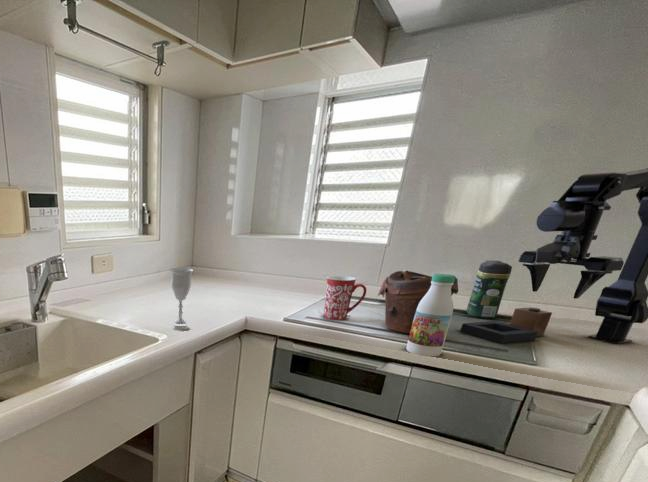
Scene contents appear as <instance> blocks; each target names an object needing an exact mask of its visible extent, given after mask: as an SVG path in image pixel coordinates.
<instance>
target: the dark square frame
mask: <svg viewBox="0 0 648 482" xmlns="http://www.w3.org/2000/svg"><path fill="white" fill-rule="evenodd" d="M459 331H460V332H461V333H464V334H468V335H471V336H474V337H477V338H481V339H485V340H489V341H490V342H491V341H492V342H495V343H498V344H511V343H520V342H530V341H536V338H537V337H536V335H537V333H538V332H537V331H533V330H529V329H525V328H521V327H517V326H513V325H510V323H509V324H508V323H504V322H501V321H496V320H488V321H476V322H465V323H462V324H461V327H460V330H459Z"/></svg>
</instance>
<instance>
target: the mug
mask: <svg viewBox="0 0 648 482" xmlns="http://www.w3.org/2000/svg"><path fill="white" fill-rule="evenodd" d="M356 280H357V278H356V277H353V276H346V275H331V276H329V275H328V276H327V277H326V289H325V297H324V298H325V299H324V308H323V318H325V319H327V320H335V321H339V320H340V321H342V320H346V319H347V318H348V314H349V313H351V312H352V311H353V310H354V309H355V308H356V307H357V306H359V305H360V303H361V302H363V300H364V299H365V297H366V295H367V287H366V285H364V284H363V283H356ZM355 283H356V284H355ZM358 288H362V290H363V291H362V292H363V293H362V295H361V297H360V298H359V299H358V300H357V302H356V303H354V304H353V305H352V306H351V307H350V304H351V300H352V296H353V293H354V292H355V291H356V289H358Z"/></svg>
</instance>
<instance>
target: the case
mask: <svg viewBox="0 0 648 482" xmlns="http://www.w3.org/2000/svg"><path fill="white" fill-rule="evenodd" d="M448 274H449V273H448ZM449 275H451V274H449ZM454 276H455V281H454V282H453V285H452V287H451V296H453V294H455V295H457V294H458V293H459V283H458V282H459V280H458V278H457V276H456V275H454ZM431 281H432V276H431V275H426V274H423V273H420V272H415V271H409V270H407V269H404V270H397V271H394V272H392V273H390V274H389V275H388V276H386V277H385V279H384V280H383V282H382V284H381V287H380V289H379V292H378V294H377V296H380V295H381V296H382V298H385V299H384V300H385V301H384V302H385V304H384V305H385V308H384V309H385V310H384V311H385V313H384V314H385V318H384V319H385V321H384V324H385V327H386V328H387V329H389V330H391V331H395V332H398V333H403V334H409V335H410V331H411V328H412V324H413V320H414V316H415V313H416V310H417V307H418V305H419V303H420V301H421V300H422V298H423V297H424V296H425V295H426V293H427V292H428V291H429V289H430V287H431Z"/></svg>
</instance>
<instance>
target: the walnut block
mask: <svg viewBox="0 0 648 482" xmlns="http://www.w3.org/2000/svg"><path fill="white" fill-rule="evenodd" d="M552 315H553V312H551V311H547V310H542V309H541V308H538V307H531V306H529V307H519V308H514V311H513V314H512V316H511V319H510V322H509V325H513V326H517V327H521V328H525V329H529V330H533V331H537V332H538V333H537V335H536V338H537V337H543V336H545V332H546V329H547V327H548V325H549V323H550V319H551V317H552Z"/></svg>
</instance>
